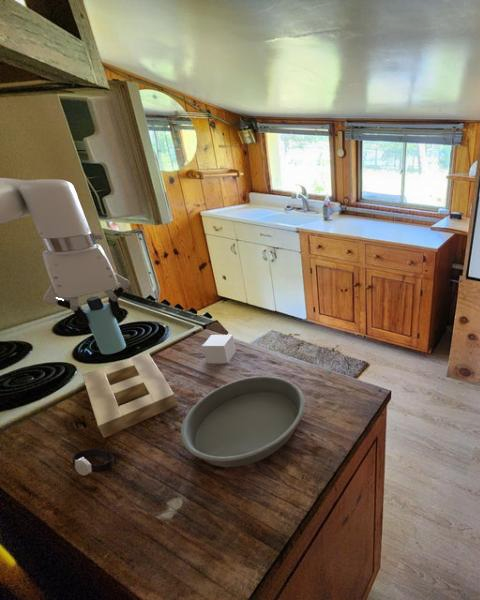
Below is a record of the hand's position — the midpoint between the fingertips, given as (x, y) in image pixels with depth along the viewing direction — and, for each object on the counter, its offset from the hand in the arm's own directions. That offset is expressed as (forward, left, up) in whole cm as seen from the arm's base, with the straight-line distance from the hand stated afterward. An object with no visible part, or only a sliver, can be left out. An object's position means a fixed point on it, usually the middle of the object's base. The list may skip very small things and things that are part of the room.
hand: (101, 318), depth 75 cm
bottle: (0, 0, -8) cm, 8 cm away
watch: (-9, -24, -20) cm, 32 cm away
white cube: (+22, -3, -20) cm, 30 cm away
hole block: (0, -5, -20) cm, 20 cm away
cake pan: (+16, -35, -20) cm, 43 cm away
